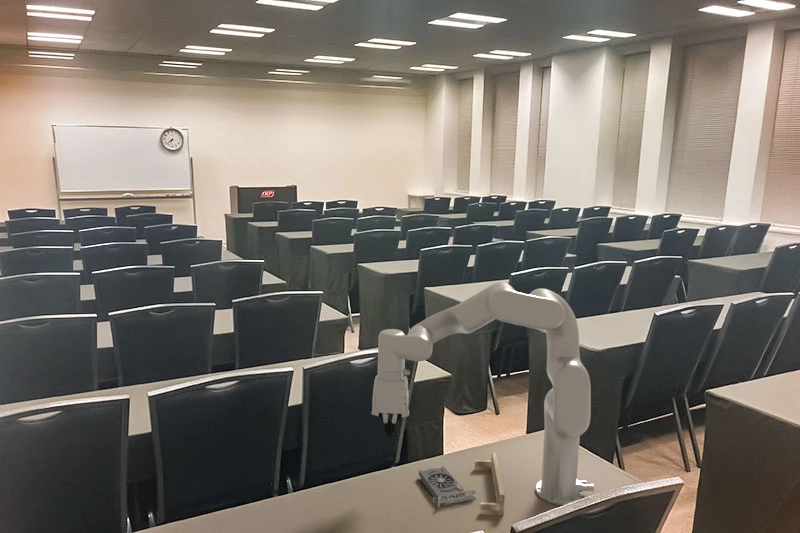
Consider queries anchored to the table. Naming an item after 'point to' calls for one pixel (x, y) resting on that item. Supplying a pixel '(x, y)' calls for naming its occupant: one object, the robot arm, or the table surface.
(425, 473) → the graphics card
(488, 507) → the birch bracket
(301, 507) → the table surface
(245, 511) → the table surface
